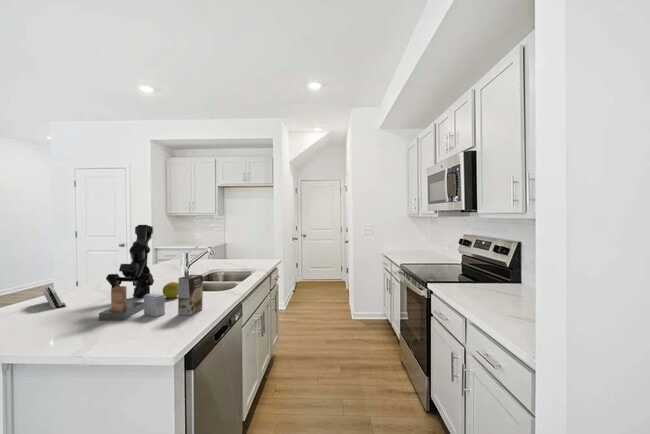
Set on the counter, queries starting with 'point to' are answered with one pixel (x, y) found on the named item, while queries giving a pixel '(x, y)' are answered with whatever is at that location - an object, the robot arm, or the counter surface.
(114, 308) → the square peg
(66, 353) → the counter surface
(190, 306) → the coffee box
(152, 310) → the medicine box
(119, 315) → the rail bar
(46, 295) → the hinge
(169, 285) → the lemon
